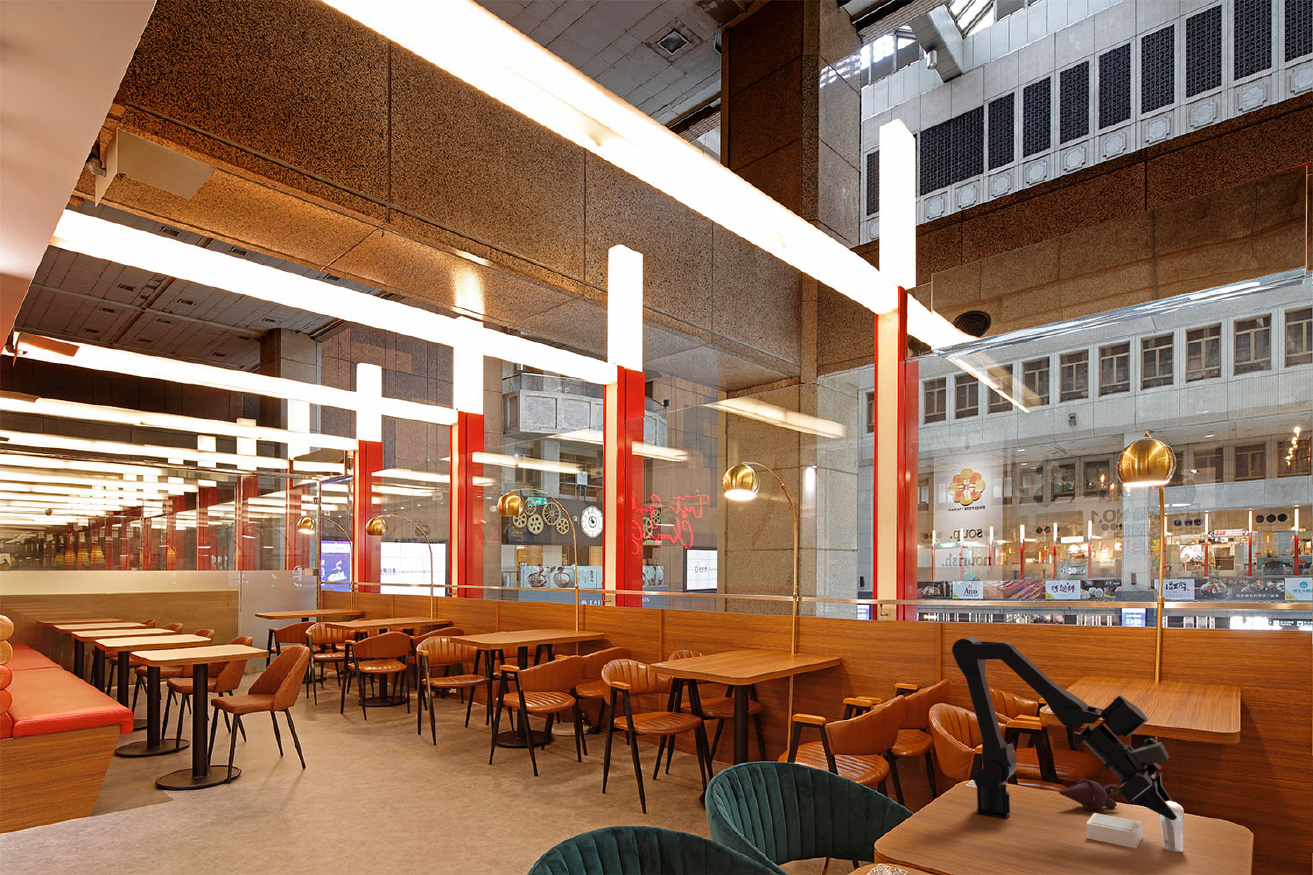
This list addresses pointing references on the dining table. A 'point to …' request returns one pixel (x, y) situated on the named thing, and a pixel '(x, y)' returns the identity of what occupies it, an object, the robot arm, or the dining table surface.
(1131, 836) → the tile base
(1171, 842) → the milkshake
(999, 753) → the robot arm
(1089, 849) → the dining table surface
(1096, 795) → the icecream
